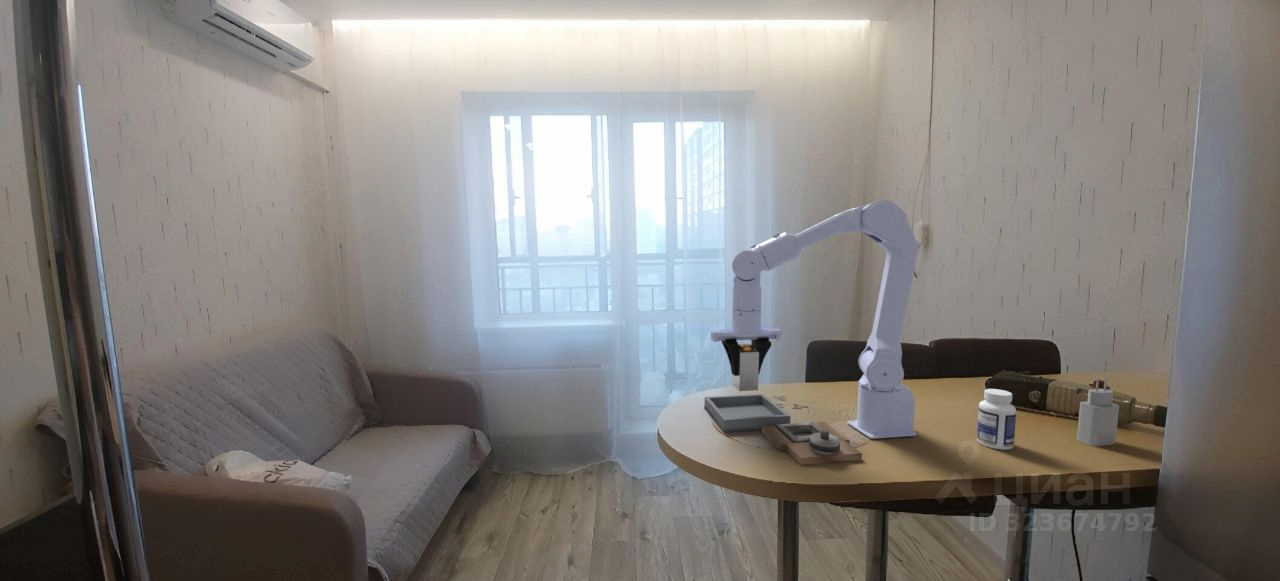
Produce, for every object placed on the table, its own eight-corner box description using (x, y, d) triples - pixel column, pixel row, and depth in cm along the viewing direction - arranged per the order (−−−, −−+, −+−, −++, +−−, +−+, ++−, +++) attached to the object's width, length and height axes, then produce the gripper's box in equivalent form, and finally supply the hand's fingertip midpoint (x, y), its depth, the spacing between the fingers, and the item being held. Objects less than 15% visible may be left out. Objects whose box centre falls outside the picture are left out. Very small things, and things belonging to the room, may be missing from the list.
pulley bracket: (824, 427, 93) (825, 406, 93) (868, 459, 79) (869, 434, 79) (761, 432, 91) (761, 410, 91) (794, 465, 78) (795, 440, 77)
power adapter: (1117, 443, 85) (1124, 379, 84) (1093, 446, 84) (1099, 381, 83) (1097, 437, 88) (1104, 374, 87) (1074, 439, 87) (1080, 376, 86)
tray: (762, 404, 106) (762, 393, 106) (790, 428, 93) (790, 415, 93) (704, 407, 104) (704, 397, 104) (723, 432, 91) (724, 420, 91)
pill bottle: (1006, 440, 87) (1010, 388, 86) (1018, 452, 82) (1023, 398, 81) (972, 436, 89) (975, 386, 88) (982, 448, 84) (986, 395, 83)
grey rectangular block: (750, 384, 100) (751, 342, 99) (758, 390, 96) (759, 347, 95) (732, 385, 100) (733, 343, 99) (739, 391, 96) (740, 347, 95)
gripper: (772, 305, 101) (770, 367, 103) (706, 307, 99) (706, 370, 101) (786, 310, 94) (784, 376, 96) (717, 312, 92) (716, 379, 94)
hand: (745, 374), depth 98 cm, fingers closed on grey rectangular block, 4 cm apart
